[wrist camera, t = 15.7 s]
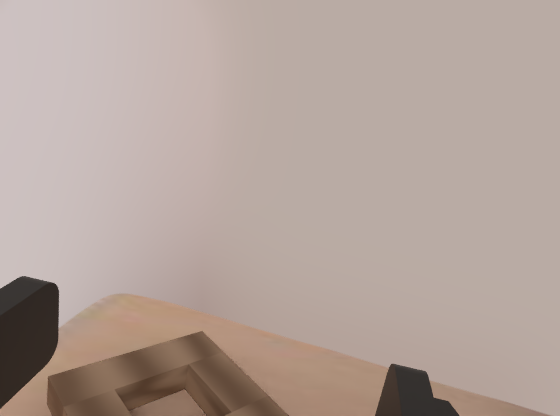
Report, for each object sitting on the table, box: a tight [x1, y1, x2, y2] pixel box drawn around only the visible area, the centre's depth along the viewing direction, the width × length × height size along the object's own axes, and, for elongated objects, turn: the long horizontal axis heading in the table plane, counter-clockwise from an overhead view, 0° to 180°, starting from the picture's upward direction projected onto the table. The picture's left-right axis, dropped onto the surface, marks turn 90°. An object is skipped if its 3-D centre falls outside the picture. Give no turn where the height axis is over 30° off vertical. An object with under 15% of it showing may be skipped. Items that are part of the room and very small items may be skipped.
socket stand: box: [47, 331, 289, 416], centre depth 40 cm, size 16×16×3 cm
